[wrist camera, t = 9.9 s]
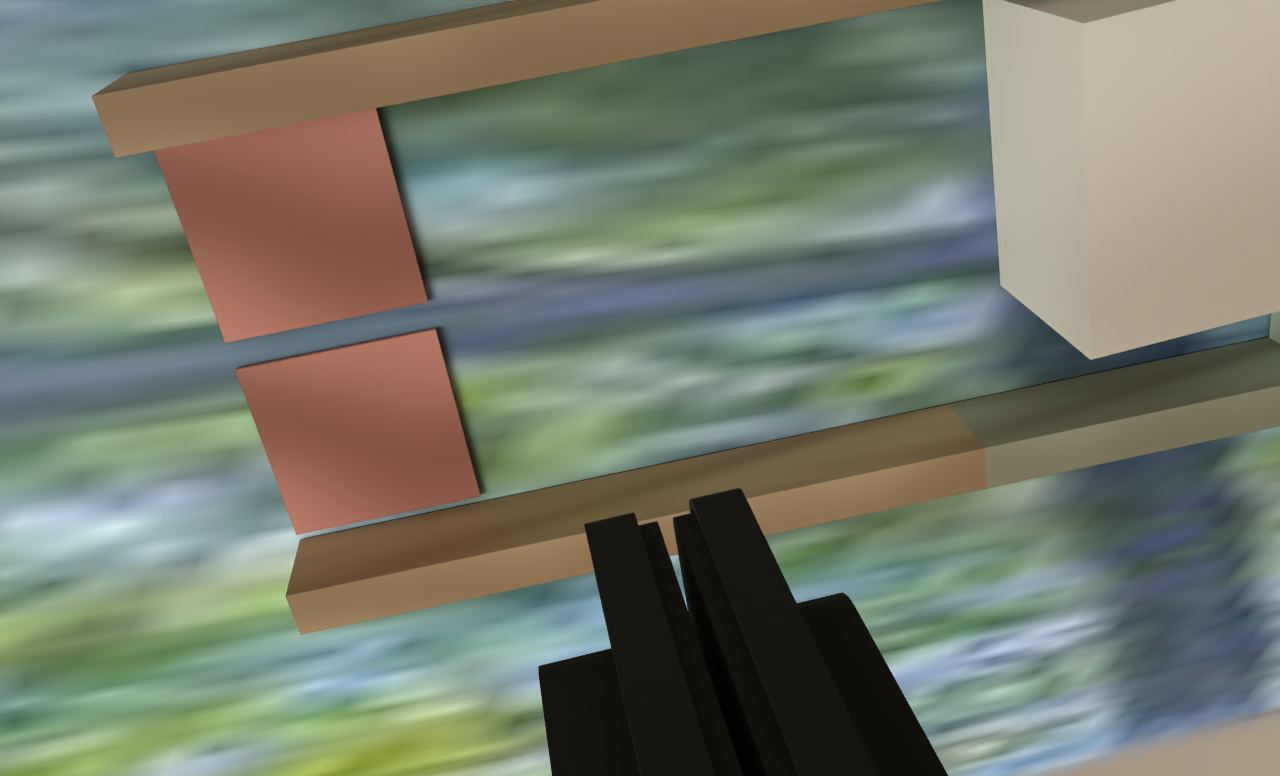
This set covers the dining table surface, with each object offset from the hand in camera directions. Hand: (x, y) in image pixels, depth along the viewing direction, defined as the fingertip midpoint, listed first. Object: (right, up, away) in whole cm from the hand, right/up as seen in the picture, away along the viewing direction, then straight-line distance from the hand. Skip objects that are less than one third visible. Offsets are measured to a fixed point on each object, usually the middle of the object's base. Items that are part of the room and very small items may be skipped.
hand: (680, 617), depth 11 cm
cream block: (+10, +8, +11) cm, 16 cm away
